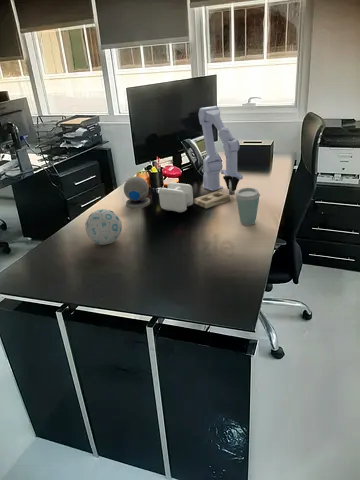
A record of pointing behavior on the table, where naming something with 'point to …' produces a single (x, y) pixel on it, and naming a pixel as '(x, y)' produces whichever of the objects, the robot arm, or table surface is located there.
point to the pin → (231, 189)
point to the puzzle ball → (103, 226)
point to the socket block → (212, 199)
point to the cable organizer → (176, 197)
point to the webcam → (136, 192)
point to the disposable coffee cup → (247, 205)
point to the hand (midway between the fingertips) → (231, 189)
